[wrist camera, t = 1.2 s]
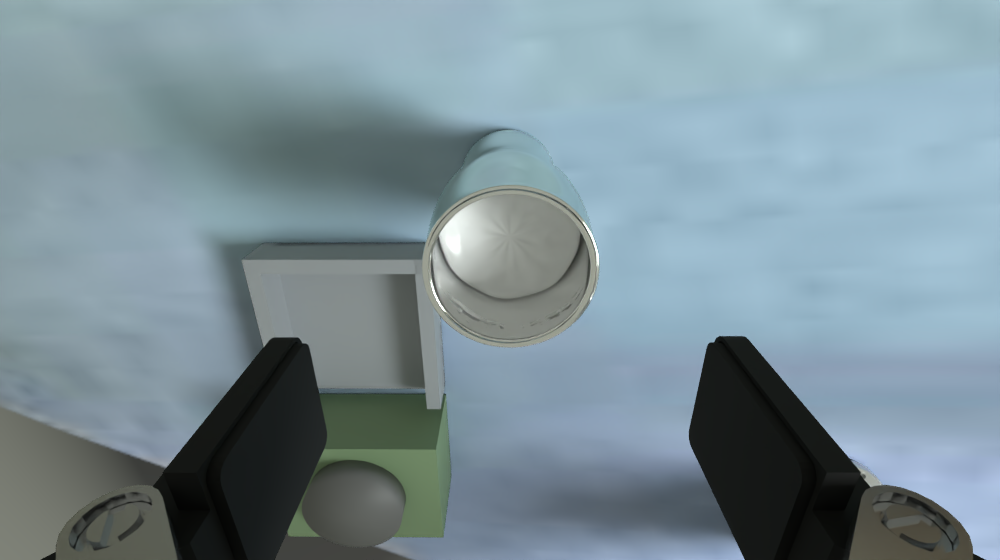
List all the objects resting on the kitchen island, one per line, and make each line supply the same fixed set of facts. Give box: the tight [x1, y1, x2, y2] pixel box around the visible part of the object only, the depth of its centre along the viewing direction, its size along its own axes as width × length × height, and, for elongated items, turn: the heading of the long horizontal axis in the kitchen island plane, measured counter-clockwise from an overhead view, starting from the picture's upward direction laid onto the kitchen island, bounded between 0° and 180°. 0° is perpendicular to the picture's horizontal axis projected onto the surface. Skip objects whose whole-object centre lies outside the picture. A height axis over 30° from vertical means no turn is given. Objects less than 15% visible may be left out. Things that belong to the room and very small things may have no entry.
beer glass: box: [422, 130, 600, 348], centre depth 24 cm, size 7×7×15 cm
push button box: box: [242, 243, 451, 547], centre depth 34 cm, size 12×22×8 cm, turn 0°
